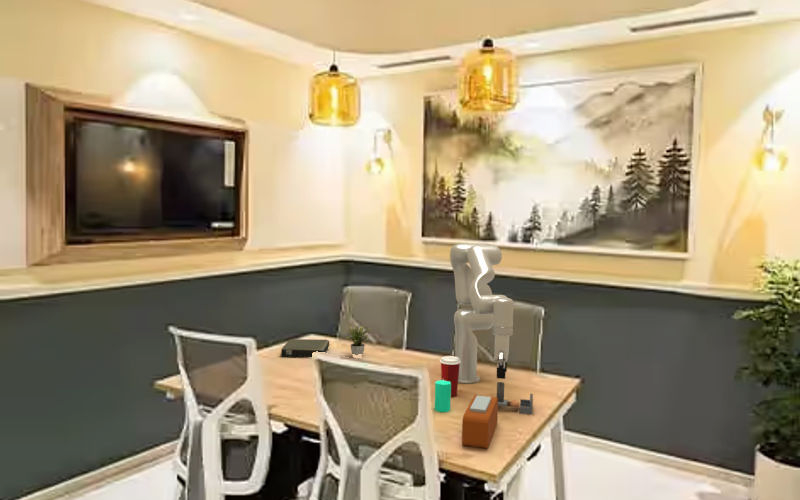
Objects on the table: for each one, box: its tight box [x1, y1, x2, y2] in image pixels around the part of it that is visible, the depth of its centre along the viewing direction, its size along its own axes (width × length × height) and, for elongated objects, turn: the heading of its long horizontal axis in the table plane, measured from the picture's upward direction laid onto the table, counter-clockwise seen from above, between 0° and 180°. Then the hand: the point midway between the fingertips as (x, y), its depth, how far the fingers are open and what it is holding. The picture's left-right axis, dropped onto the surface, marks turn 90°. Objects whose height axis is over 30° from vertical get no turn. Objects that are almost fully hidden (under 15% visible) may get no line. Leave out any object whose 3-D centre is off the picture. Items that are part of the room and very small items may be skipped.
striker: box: [496, 381, 508, 406], centre depth 231 cm, size 5×4×9 cm
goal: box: [519, 393, 534, 415], centre depth 229 cm, size 5×9×5 cm, turn 167°
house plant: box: [345, 325, 373, 355], centre depth 298 cm, size 14×14×16 cm
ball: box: [509, 399, 520, 408], centre depth 230 cm, size 3×3×3 cm
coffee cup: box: [439, 355, 460, 398], centre depth 245 cm, size 8×8×15 cm
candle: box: [434, 379, 452, 413], centre depth 227 cm, size 6×6×12 cm
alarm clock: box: [461, 394, 499, 449], centre depth 204 cm, size 24×8×11 cm, turn 163°
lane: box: [498, 400, 519, 413], centre depth 231 cm, size 17×7×2 cm, turn 77°
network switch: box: [280, 338, 330, 358], centre depth 307 cm, size 23×24×5 cm
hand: (501, 375), depth 229 cm, fingers open, 9 cm apart
